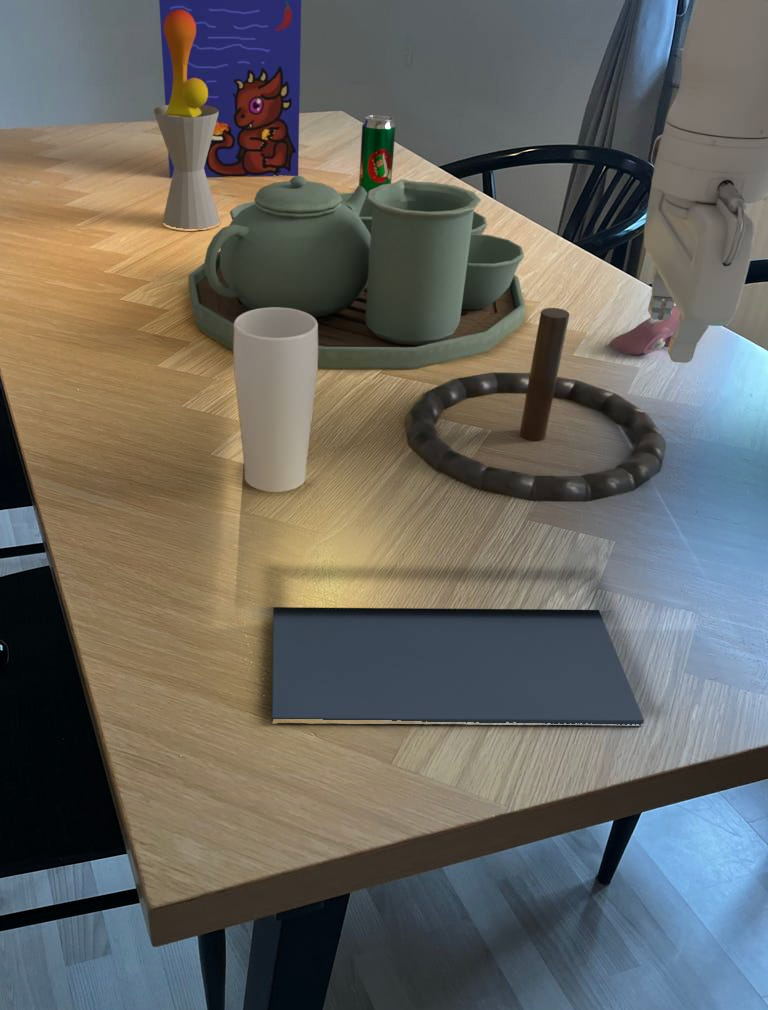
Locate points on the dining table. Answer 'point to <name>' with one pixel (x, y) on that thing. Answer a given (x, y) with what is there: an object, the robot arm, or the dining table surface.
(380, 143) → the soda can
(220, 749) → the dining table surface
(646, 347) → the pink toy car
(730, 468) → the dining table surface
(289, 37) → the cereal box
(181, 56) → the lava lamp
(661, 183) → the robot arm
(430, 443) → the dark segmented ring
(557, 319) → the stand
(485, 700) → the felt mat
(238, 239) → the tea set
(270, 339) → the drinking glass
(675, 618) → the dining table surface
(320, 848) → the dining table surface
